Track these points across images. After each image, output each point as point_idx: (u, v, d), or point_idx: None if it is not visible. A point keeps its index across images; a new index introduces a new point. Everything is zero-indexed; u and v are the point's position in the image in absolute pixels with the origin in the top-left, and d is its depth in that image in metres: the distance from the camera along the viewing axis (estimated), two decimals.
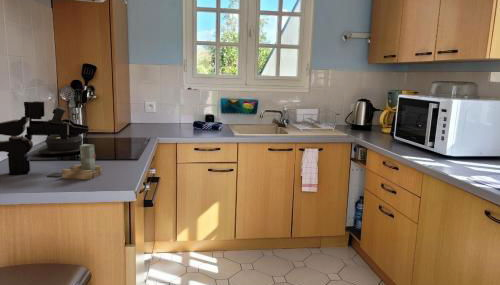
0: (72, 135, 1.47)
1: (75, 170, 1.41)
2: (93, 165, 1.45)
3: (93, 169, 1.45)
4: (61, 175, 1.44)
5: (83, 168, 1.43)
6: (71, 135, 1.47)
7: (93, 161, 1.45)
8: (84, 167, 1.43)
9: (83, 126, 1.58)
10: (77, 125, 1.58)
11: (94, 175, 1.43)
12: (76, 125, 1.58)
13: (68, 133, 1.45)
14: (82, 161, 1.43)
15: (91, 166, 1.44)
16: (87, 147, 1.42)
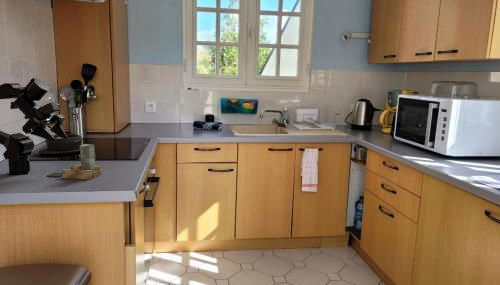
0: (37, 134, 1.39)
1: (75, 170, 1.41)
2: (93, 165, 1.45)
3: (93, 169, 1.45)
4: (61, 175, 1.44)
5: (83, 168, 1.43)
6: (36, 133, 1.39)
7: (93, 161, 1.45)
8: (84, 167, 1.43)
9: (63, 134, 1.48)
10: (60, 129, 1.48)
11: (94, 175, 1.43)
12: (59, 128, 1.48)
13: (33, 130, 1.37)
14: (82, 161, 1.43)
15: (91, 166, 1.44)
16: (87, 147, 1.42)
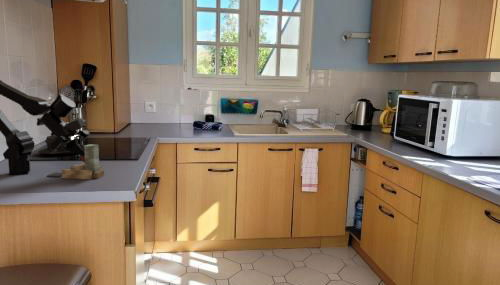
0: (69, 149, 1.42)
1: (75, 170, 1.41)
2: (97, 165, 1.45)
3: (97, 169, 1.45)
4: (61, 175, 1.44)
5: (87, 168, 1.43)
6: (68, 148, 1.42)
7: (98, 161, 1.45)
8: (88, 167, 1.43)
9: None
10: None
11: (98, 175, 1.43)
12: None
13: (66, 145, 1.41)
14: (86, 161, 1.43)
15: (95, 166, 1.43)
16: (91, 147, 1.41)
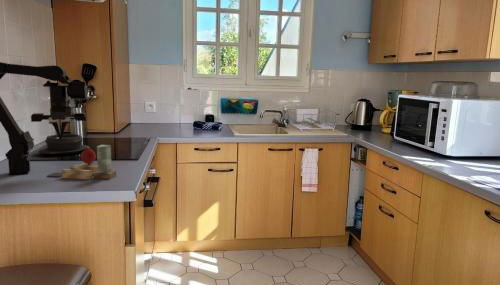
0: None
1: (75, 170, 1.41)
2: (110, 166, 1.44)
3: (110, 170, 1.45)
4: (61, 175, 1.44)
5: (100, 169, 1.42)
6: None
7: (110, 162, 1.45)
8: (100, 167, 1.42)
9: None
10: (61, 128, 1.48)
11: (111, 176, 1.43)
12: (61, 127, 1.48)
13: None
14: (99, 162, 1.42)
15: (108, 167, 1.43)
16: (104, 148, 1.41)
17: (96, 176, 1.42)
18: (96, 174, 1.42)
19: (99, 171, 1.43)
